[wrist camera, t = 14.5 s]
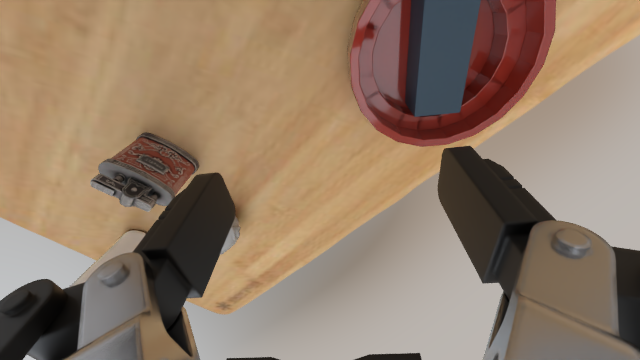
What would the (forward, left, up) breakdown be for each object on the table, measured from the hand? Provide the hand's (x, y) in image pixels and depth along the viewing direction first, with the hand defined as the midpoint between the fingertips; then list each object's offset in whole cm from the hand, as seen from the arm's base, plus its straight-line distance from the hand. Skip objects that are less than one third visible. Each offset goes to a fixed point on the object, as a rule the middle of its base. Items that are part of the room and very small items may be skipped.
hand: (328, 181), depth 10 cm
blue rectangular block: (0, +10, -22) cm, 24 cm away
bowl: (0, +10, -23) cm, 25 cm away
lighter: (+9, -23, -23) cm, 34 cm away
